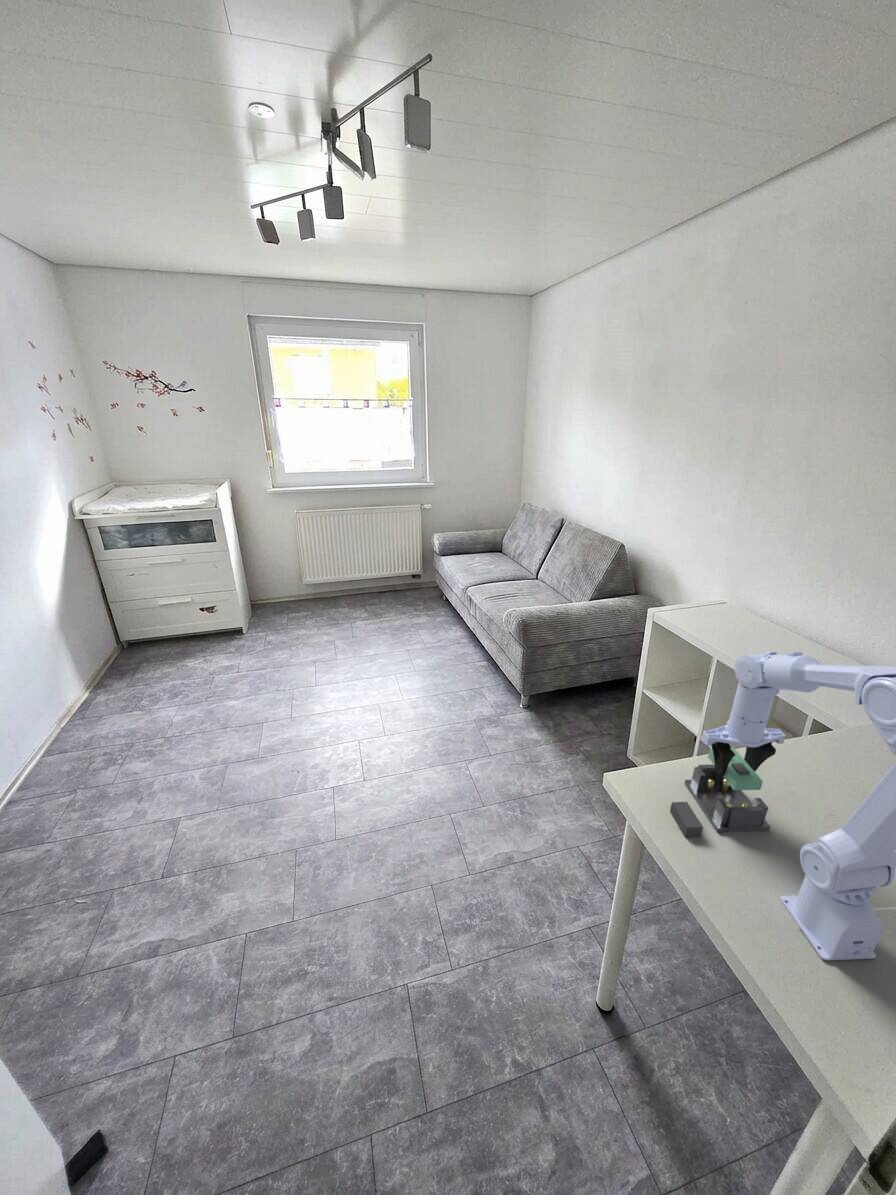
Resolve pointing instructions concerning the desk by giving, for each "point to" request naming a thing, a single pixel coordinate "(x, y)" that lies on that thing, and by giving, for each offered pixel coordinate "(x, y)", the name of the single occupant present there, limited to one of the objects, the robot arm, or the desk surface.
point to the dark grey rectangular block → (686, 819)
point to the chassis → (725, 803)
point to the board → (739, 773)
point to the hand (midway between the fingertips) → (733, 772)
